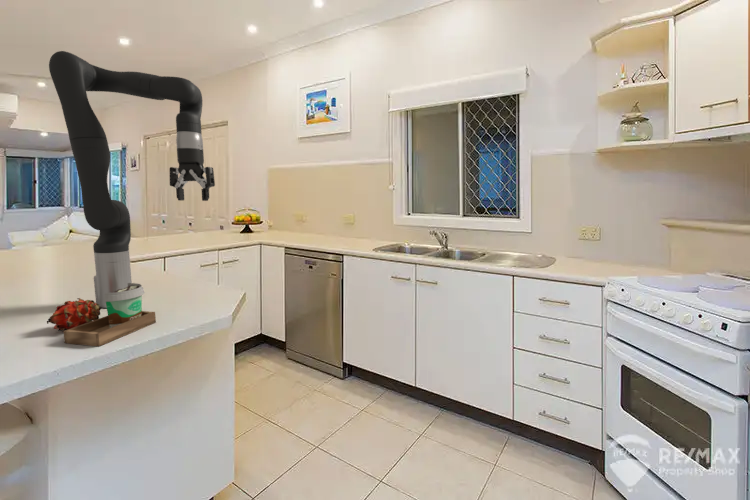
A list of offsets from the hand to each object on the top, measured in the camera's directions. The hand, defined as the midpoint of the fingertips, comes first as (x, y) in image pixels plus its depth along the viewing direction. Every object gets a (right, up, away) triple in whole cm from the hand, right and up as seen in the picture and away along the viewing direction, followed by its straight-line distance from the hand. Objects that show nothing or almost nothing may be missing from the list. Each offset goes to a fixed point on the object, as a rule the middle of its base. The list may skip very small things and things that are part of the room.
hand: (193, 200), depth 125 cm
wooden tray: (-9, -37, -24) cm, 45 cm away
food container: (-7, -36, -20) cm, 42 cm away
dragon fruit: (-21, -37, -21) cm, 47 cm away
